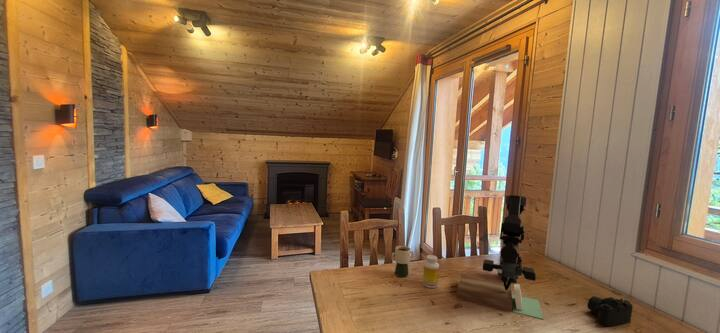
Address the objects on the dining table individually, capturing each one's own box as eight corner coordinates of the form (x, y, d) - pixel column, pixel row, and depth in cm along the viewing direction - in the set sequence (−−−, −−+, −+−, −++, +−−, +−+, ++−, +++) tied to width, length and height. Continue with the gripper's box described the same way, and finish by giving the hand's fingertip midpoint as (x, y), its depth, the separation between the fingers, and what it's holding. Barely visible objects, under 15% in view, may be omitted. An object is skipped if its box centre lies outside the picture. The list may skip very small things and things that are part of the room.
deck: (460, 283, 135) (461, 274, 135) (509, 294, 127) (510, 285, 127) (456, 298, 122) (457, 288, 122) (511, 311, 114) (512, 301, 114)
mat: (511, 294, 127) (511, 294, 127) (538, 301, 123) (538, 300, 123) (512, 312, 114) (513, 311, 114) (543, 319, 110) (543, 318, 110)
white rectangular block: (514, 284, 123) (519, 284, 122) (516, 298, 123) (521, 298, 123) (514, 294, 115) (520, 294, 114) (516, 309, 115) (522, 309, 115)
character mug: (409, 270, 146) (410, 244, 145) (415, 277, 139) (417, 250, 138) (388, 272, 143) (389, 246, 142) (393, 279, 136) (394, 251, 135)
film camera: (606, 308, 119) (609, 286, 118) (634, 323, 110) (638, 300, 109) (578, 313, 115) (580, 291, 114) (604, 329, 106) (608, 305, 105)
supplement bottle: (438, 289, 129) (440, 260, 127) (422, 287, 130) (424, 259, 129) (437, 282, 135) (439, 254, 134) (422, 280, 137) (424, 253, 135)
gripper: (483, 254, 116) (480, 293, 117) (539, 265, 108) (534, 306, 110) (484, 245, 126) (481, 280, 128) (535, 254, 118) (531, 292, 120)
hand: (506, 289), depth 121 cm, fingers closed
